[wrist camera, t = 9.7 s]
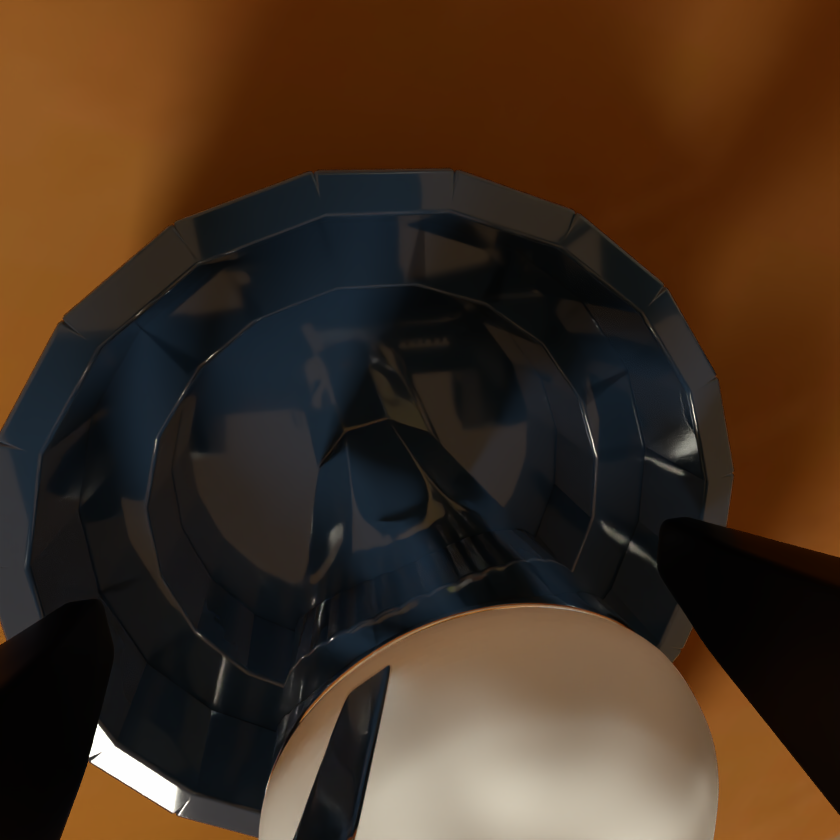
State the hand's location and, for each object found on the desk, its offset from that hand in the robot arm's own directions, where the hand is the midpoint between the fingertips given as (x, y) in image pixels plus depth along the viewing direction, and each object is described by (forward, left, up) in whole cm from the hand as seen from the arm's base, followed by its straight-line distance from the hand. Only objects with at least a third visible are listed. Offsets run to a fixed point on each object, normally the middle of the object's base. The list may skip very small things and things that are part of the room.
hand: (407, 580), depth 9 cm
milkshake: (0, 0, -4) cm, 5 cm away
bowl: (0, 0, -5) cm, 5 cm away
